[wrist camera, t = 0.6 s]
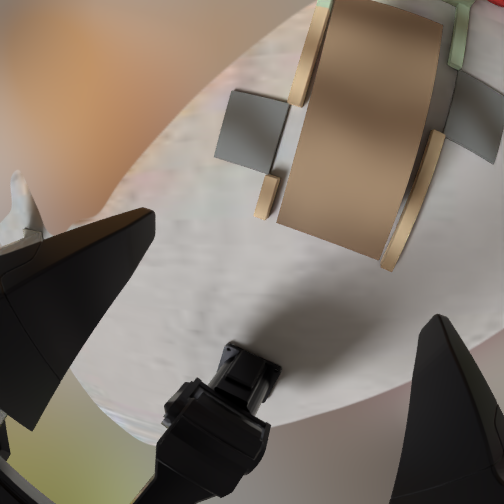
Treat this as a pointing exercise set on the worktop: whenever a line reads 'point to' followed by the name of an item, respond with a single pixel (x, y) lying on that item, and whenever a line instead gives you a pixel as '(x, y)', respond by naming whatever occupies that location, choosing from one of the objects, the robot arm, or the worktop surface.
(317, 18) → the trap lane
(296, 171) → the walnut block
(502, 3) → the canned food
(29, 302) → the robot arm
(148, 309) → the worktop surface
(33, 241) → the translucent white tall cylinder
